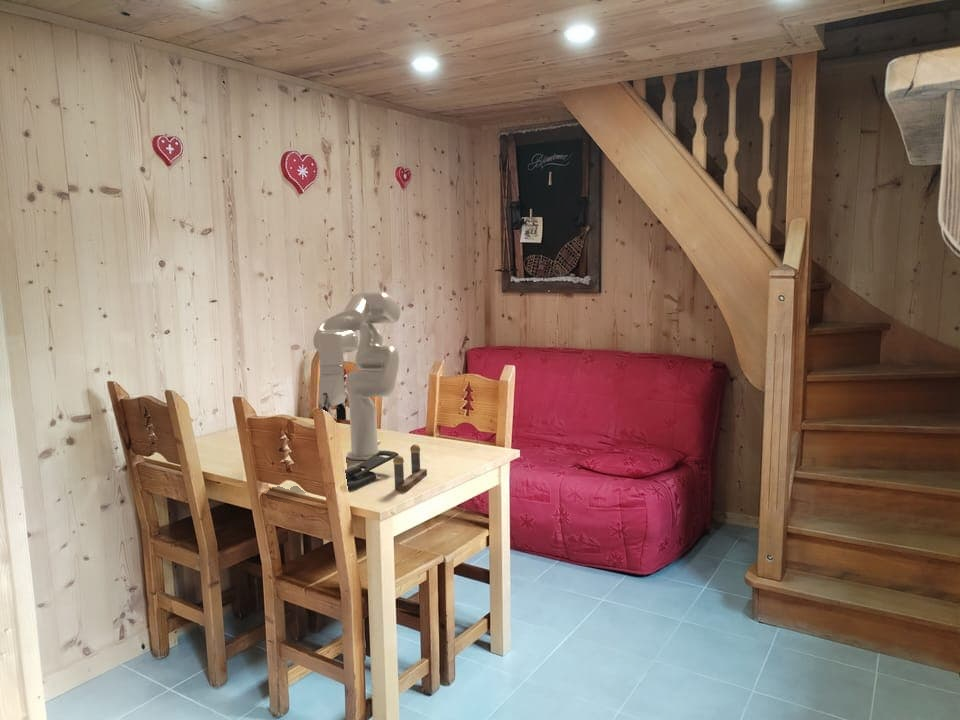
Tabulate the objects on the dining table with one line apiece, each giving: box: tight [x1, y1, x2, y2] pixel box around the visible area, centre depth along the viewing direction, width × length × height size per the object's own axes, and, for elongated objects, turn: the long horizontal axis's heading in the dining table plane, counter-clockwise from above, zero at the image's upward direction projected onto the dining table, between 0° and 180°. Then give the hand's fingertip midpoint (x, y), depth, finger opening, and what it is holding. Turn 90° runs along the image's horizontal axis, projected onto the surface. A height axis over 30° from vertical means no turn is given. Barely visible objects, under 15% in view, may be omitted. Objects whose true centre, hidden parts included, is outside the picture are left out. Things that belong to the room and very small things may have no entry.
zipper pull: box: [344, 450, 399, 492], centre depth 215 cm, size 9×7×25 cm
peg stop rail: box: [392, 444, 428, 493], centre depth 210 cm, size 18×5×11 cm, turn 164°
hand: (334, 422), depth 215 cm, fingers open, 9 cm apart
